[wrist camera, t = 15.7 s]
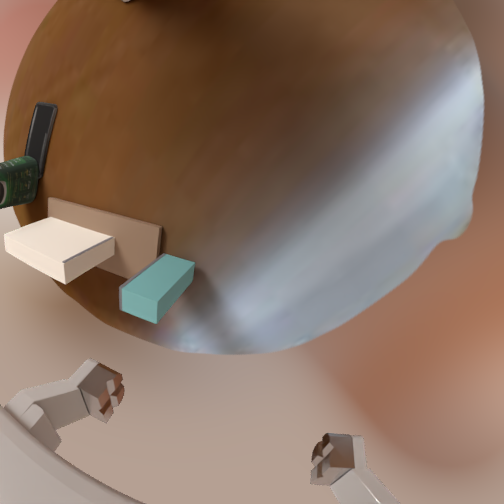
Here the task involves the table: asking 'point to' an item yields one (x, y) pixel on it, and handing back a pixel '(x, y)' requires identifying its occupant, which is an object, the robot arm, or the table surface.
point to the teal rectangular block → (156, 287)
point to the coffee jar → (18, 181)
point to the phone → (40, 133)
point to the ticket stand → (84, 242)
